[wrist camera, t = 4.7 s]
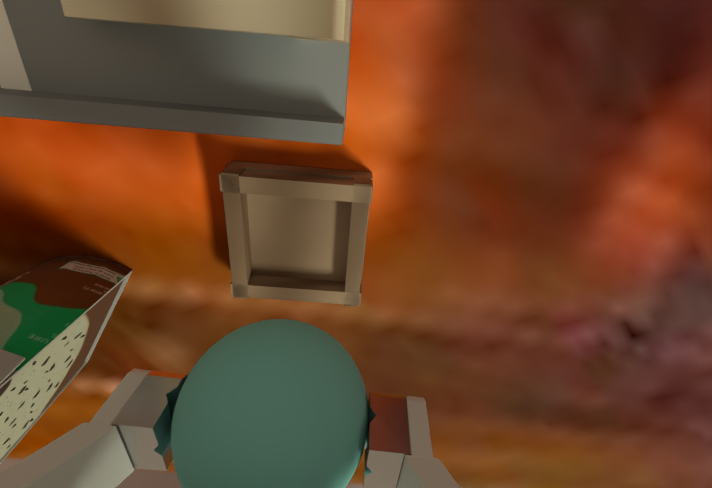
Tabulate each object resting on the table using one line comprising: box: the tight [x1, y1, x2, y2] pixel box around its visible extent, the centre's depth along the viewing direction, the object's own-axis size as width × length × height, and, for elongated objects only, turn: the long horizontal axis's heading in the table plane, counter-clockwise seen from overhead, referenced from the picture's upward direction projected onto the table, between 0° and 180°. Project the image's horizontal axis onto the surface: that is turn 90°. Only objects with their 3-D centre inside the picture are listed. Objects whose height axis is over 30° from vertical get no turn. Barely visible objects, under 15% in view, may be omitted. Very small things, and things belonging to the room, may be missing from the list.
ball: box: [171, 319, 368, 488], centre depth 9 cm, size 5×5×5 cm
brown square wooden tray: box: [219, 161, 373, 306], centre depth 18 cm, size 7×7×2 cm
